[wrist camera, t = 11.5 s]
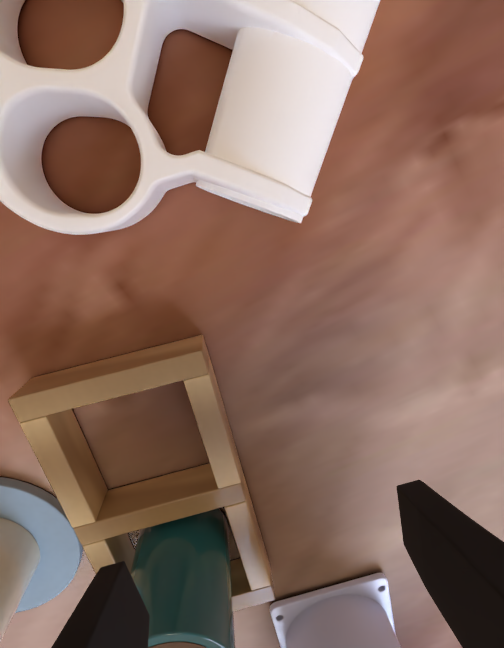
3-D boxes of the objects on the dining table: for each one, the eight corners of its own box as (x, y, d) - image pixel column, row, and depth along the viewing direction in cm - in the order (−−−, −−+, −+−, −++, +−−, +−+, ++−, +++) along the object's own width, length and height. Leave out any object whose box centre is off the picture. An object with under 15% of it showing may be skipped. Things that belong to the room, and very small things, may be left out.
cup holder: (269, 564, 23) (275, 600, 20) (137, 601, 22) (129, 641, 20) (203, 334, 18) (202, 350, 15) (31, 377, 17) (6, 399, 15)
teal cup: (237, 552, 22) (249, 699, 15) (155, 574, 22) (130, 734, 15) (216, 486, 20) (218, 619, 14) (127, 510, 20) (85, 657, 13)
